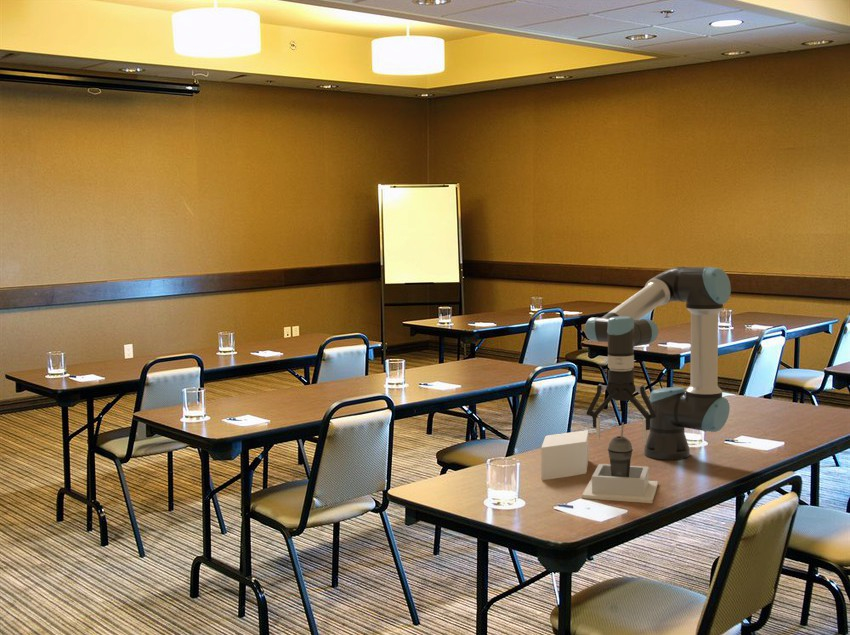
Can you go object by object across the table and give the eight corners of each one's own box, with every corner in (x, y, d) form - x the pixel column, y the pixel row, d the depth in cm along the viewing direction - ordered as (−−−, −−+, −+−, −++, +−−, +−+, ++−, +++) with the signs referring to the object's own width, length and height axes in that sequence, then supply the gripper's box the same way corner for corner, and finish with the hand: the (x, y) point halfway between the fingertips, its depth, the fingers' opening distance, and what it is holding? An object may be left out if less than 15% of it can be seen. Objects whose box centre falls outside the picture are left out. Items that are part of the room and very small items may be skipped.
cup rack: (592, 480, 292) (592, 461, 292) (657, 484, 286) (657, 465, 286) (582, 498, 274) (582, 478, 273) (652, 503, 267) (652, 482, 267)
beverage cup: (620, 483, 285) (620, 418, 283) (638, 488, 279) (637, 422, 277) (602, 487, 281) (602, 421, 279) (619, 492, 275) (619, 425, 273)
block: (608, 464, 312) (608, 432, 311) (562, 484, 289) (562, 450, 288) (568, 457, 321) (568, 427, 320) (521, 477, 298) (521, 444, 297)
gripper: (576, 370, 277) (577, 440, 279) (663, 372, 269) (663, 444, 271) (580, 366, 284) (581, 434, 286) (665, 367, 276) (665, 438, 278)
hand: (621, 439), depth 279 cm, fingers open, 13 cm apart
